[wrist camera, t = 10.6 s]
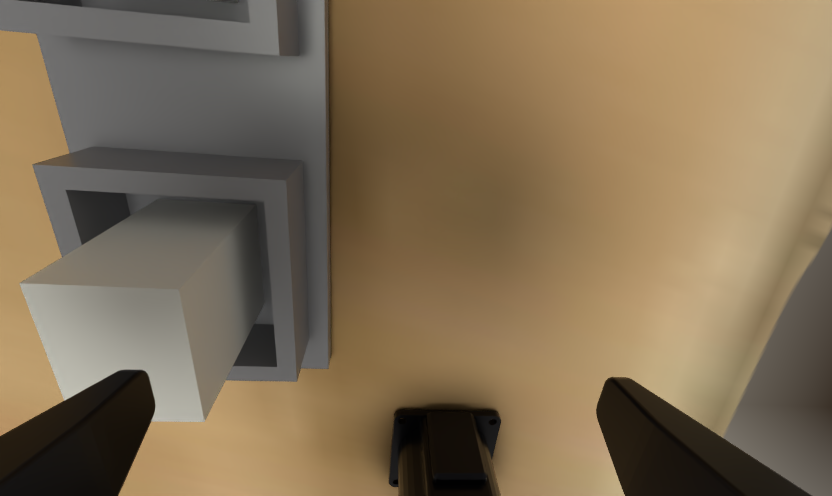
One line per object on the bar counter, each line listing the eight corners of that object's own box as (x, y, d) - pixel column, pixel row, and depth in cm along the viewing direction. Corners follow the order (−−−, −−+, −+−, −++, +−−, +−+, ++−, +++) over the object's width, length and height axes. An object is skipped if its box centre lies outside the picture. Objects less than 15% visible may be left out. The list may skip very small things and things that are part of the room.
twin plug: (264, 303, 19) (204, 421, 13) (177, 299, 19) (71, 420, 13) (255, 204, 17) (178, 289, 11) (157, 199, 17) (19, 283, 11)
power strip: (330, 356, 22) (319, 414, 19) (139, 351, 21) (89, 411, 18) (325, -376, 11) (295, -581, 8) (-68, -450, 10) (-315, -724, 7)
